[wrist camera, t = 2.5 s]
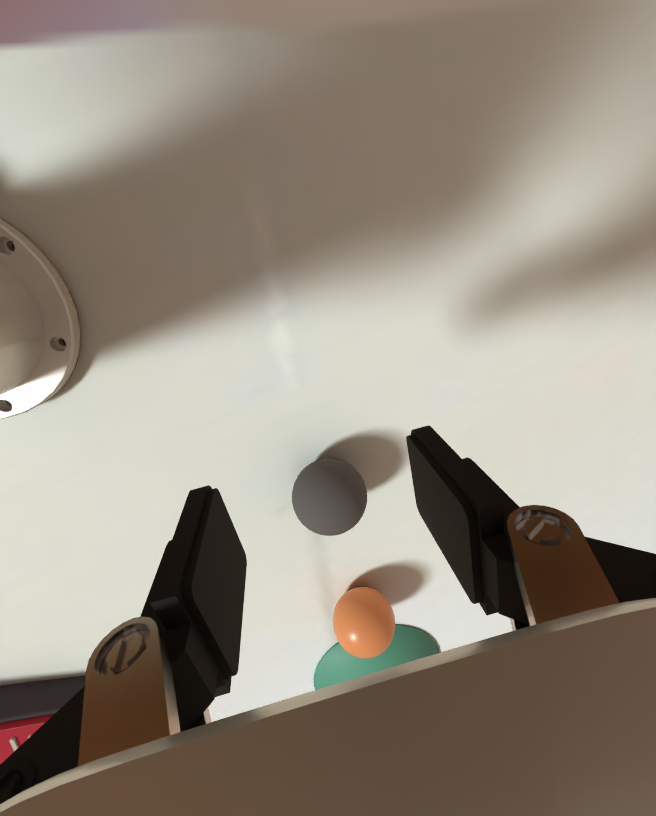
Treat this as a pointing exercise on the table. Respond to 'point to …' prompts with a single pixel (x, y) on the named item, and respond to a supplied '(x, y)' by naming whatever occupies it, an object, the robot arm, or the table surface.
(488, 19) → the table surface
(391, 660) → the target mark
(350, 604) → the ball
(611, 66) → the table surface
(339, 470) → the ball
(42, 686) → the calculator
